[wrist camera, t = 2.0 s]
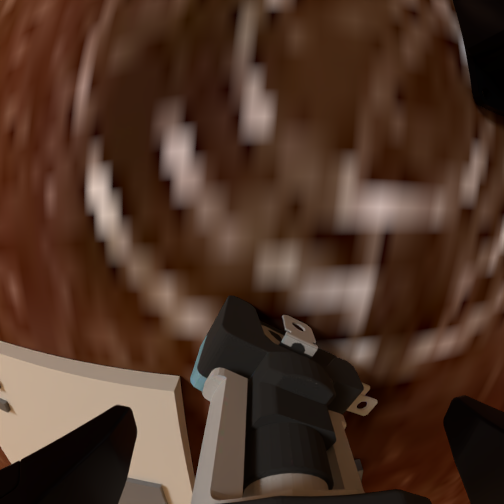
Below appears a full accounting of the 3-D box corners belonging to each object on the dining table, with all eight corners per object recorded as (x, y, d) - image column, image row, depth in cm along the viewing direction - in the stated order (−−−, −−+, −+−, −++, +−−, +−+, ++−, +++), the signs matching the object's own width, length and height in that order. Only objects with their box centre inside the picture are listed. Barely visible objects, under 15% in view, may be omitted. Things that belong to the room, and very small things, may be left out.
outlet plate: (179, 376, 11) (171, 396, 9) (208, 539, 14) (206, 552, 13) (-41, 326, 11) (-55, 335, 10) (44, 494, 14) (38, 504, 13)
